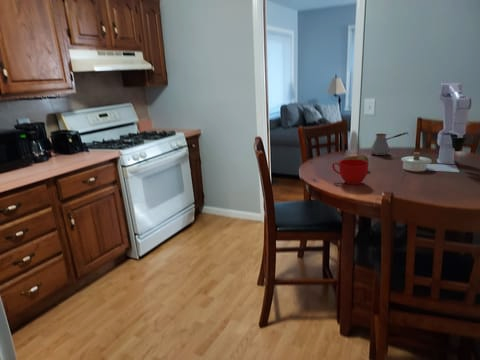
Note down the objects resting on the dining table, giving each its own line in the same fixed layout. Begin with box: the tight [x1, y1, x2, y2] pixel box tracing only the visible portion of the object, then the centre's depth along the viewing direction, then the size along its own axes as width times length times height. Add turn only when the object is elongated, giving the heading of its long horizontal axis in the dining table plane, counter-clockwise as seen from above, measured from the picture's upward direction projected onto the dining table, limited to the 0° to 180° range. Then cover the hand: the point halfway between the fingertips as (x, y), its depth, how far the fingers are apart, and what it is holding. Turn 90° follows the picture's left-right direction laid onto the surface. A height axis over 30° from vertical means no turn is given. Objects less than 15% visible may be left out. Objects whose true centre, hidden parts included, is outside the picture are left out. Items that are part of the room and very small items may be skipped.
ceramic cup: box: [331, 159, 369, 186], centre depth 161 cm, size 13×17×10 cm
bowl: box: [402, 161, 427, 172], centre depth 178 cm, size 11×11×4 cm
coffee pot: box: [370, 131, 409, 156], centre depth 209 cm, size 21×12×15 cm, turn 52°
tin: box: [342, 154, 369, 163], centre depth 180 cm, size 15×3×8 cm, turn 105°
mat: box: [426, 163, 460, 173], centre depth 178 cm, size 14×14×1 cm
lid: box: [400, 152, 432, 164], centre depth 177 cm, size 14×14×4 cm
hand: (456, 149), depth 172 cm, fingers open, 7 cm apart
